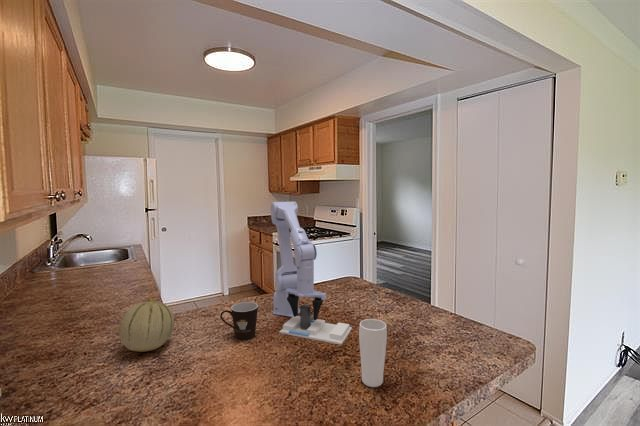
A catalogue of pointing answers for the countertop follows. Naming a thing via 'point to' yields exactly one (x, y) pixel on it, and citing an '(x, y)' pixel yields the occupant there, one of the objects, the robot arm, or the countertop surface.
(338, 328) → the white slotted board
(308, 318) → the dark grey rounded piece
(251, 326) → the coffee mug
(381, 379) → the drinking glass
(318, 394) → the countertop surface
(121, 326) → the cantaloupe
